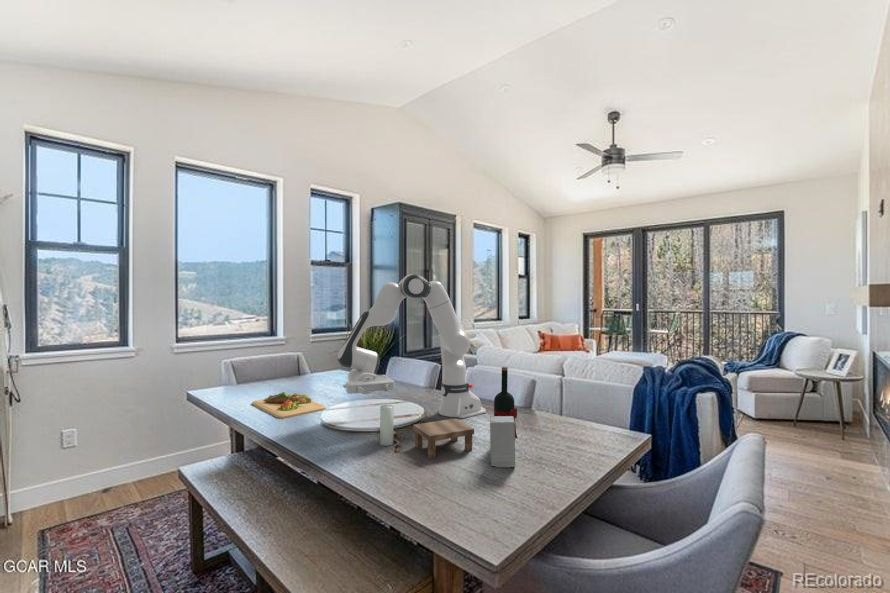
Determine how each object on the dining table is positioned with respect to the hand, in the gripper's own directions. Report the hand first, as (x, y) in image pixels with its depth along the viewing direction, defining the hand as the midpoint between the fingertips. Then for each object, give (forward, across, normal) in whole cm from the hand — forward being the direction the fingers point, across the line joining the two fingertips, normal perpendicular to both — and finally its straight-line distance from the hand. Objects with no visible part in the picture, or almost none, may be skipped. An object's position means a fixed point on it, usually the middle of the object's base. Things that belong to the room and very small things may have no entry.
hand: (376, 390), depth 179 cm
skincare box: (+48, +29, +17) cm, 59 cm away
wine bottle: (+36, +39, +17) cm, 56 cm away
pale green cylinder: (+12, +1, +18) cm, 21 cm away
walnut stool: (+26, +18, +17) cm, 36 cm away
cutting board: (-57, -25, +19) cm, 65 cm away
